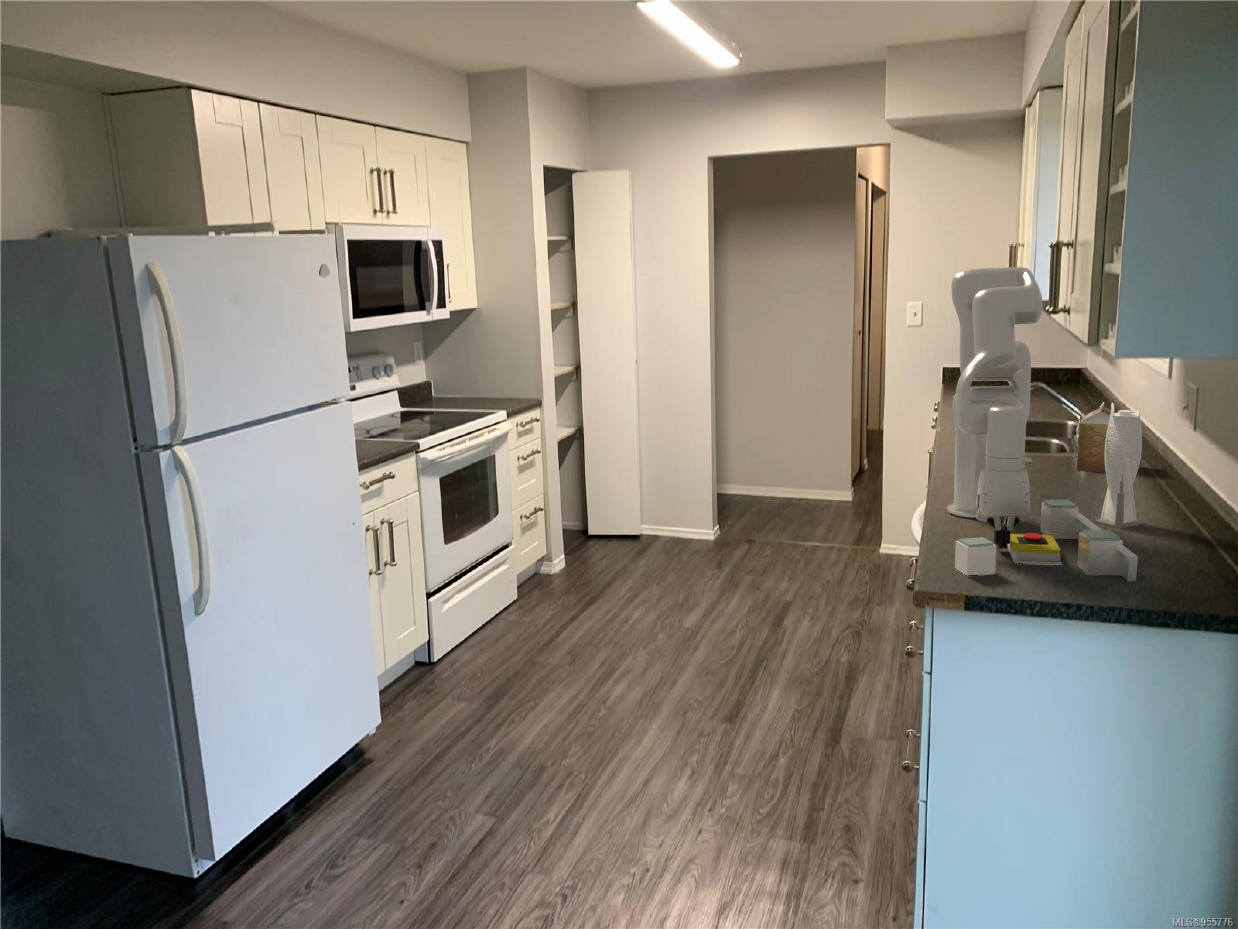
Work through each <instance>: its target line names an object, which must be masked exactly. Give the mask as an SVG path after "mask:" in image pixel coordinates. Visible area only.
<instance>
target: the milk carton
mask: <svg viewBox="0 0 1238 929" xmlns="http://www.w3.org/2000/svg"><path fill="white" fill-rule="evenodd" d="M1110 415H1111V408H1110V409H1109V408H1108V407H1105V402H1104V401H1103V402H1102V403H1101V405H1100V406H1099V408H1097V409H1095V410H1092V411H1090V412H1089V413H1087V414H1086V415H1084V416H1083V417H1082V418H1081V420H1080V422H1078V437H1077V438H1078V439H1077V458H1076V459H1077V460H1076V471H1079V472H1080V471H1081V472H1083V471H1084V472H1097V473H1106V470H1105V441H1106V434H1107V429H1108V424H1109V419H1110Z"/></svg>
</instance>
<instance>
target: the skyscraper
mask: <svg viewBox="0 0 1238 929" xmlns="http://www.w3.org/2000/svg"><path fill="white" fill-rule="evenodd" d="M1115 408H1116V407H1115V403H1113V402H1111V404H1110V410H1111V415H1110V419H1109V424H1108V429H1107V434H1106V441H1105V470H1106V472H1105V476H1106V482H1107V489H1106V494H1105V497H1104V502H1103V505H1102V510H1101V514H1100V518H1097V519H1094V522H1095V523H1098V524H1102V525H1106V526H1109V527H1112V528H1116V529H1118V530H1119V529H1120V530H1121V529H1126V528H1130V527H1136V526H1137V525H1138V526H1141V525H1140V524H1142V525H1143V522H1141V521H1138V520H1137V513H1136V504H1135V497H1134V496H1135V495H1134V488H1133V485H1134V483H1135V480H1136V477H1137V474H1138V470H1139V468H1140V463H1141V458H1142V450H1143V449H1142V448H1143V436H1142V434H1143V432H1142V421H1141V414H1140V413H1141V412H1140V411H1139V410H1138V409H1137V410H1136V411H1135V412H1133V410H1130V409H1121V410H1117V412H1115ZM1094 522H1093V523H1094Z"/></svg>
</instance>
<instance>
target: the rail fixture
mask: <svg viewBox="0 0 1238 929" xmlns="http://www.w3.org/2000/svg"><path fill="white" fill-rule="evenodd" d="M1040 511H1041V513H1040V528H1039V531H1040V533H1041V534H1042V535H1051V536H1053V538H1054V540H1078V550H1077V551H1078V552H1077V567H1078V568H1079V569H1080V570H1082V571H1083V572H1084V573H1085V574H1086V575H1087V576H1121V577H1122V578H1123V579H1125V580H1126V582H1137V573H1138V572H1137V571H1138V559H1139V558H1138V557H1139V556H1138V555H1137V554H1135V553H1134V552H1133V551H1131V550H1130V549H1129V548H1127V547H1126V546H1124V545H1123V544H1124V540H1122V539H1121V537H1120V536H1119V535H1118V534H1116V533H1114V532H1113V531H1112V530H1111V529H1107V530H1106V529H1102V528H1101V527H1099V526H1098V525H1097V524H1095V523H1094V522H1092V521H1091V520H1090V519H1088V517H1087V516H1085V515H1083V514H1082V513H1081V512H1079V507H1077V505H1076V503H1074V502H1072V501H1071V500H1070V499H1044V500H1043V501H1042V502H1041V510H1040Z"/></svg>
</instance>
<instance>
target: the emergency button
mask: <svg viewBox="0 0 1238 929" xmlns="http://www.w3.org/2000/svg"><path fill="white" fill-rule="evenodd" d="M1007 550H1008V552H1009V555H1010V557H1011V560H1012V562H1013V561H1045V562H1050V563H1045V562H1044V563H1043V564H1042V563H1037V564H1036V563H1035V564H1034V563H1033V564H1031V563H1030V564H1029V563H1026V564H1025V563H1023V564H1022V565H1033V566H1036V565H1037V566H1038V565H1039V566H1054V565H1057V566H1058V565H1061V566H1063V563H1062V561H1061V549H1060V547H1059V544H1058V542H1057V541H1056V539H1054V538H1053V536H1051V535H1044V534H1039V533H1035V532H1033V533H1031V532H1030V533H1024V534H1023V533H1020V534H1019V533H1017V534H1016V533H1011V534H1010V544H1008V548H1007ZM1060 561H1061V562H1060ZM1052 562H1055V563H1052ZM1017 565H1019V564H1018V563H1017ZM1058 567H1059V566H1058Z"/></svg>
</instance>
